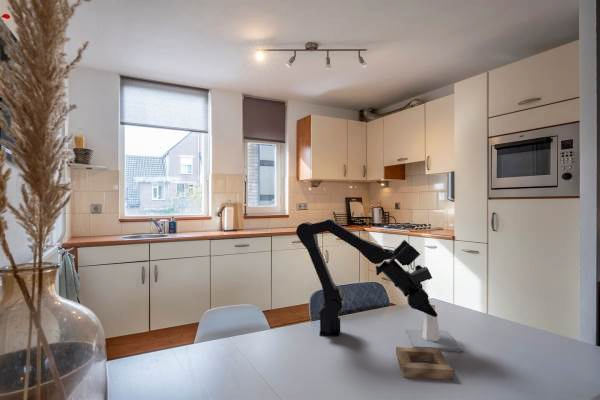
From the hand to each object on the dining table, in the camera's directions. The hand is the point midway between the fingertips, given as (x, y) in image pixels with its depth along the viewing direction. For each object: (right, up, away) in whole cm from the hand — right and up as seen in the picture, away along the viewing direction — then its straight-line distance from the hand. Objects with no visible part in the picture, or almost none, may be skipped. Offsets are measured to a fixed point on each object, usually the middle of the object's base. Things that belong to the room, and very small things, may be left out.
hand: (433, 311), depth 105 cm
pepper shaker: (-1, -9, 0) cm, 9 cm away
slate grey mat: (-1, -9, 0) cm, 10 cm away
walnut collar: (-10, -9, -17) cm, 22 cm away
